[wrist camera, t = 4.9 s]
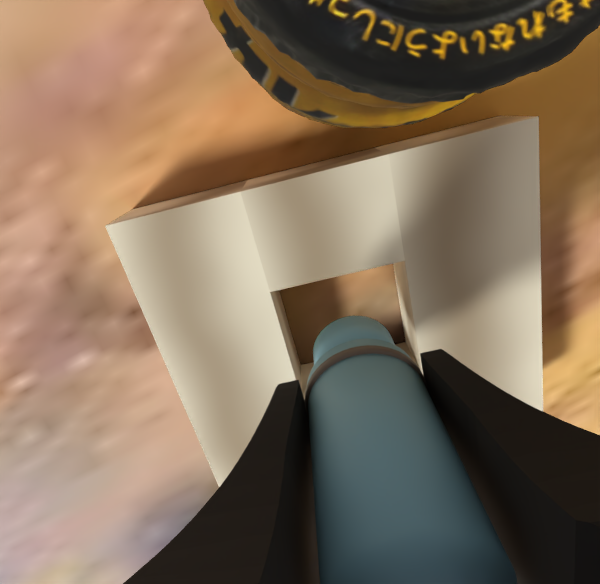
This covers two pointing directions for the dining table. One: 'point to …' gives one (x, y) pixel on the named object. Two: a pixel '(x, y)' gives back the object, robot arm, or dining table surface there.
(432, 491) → the peg
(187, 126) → the dining table surface
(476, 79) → the condiment
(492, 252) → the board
